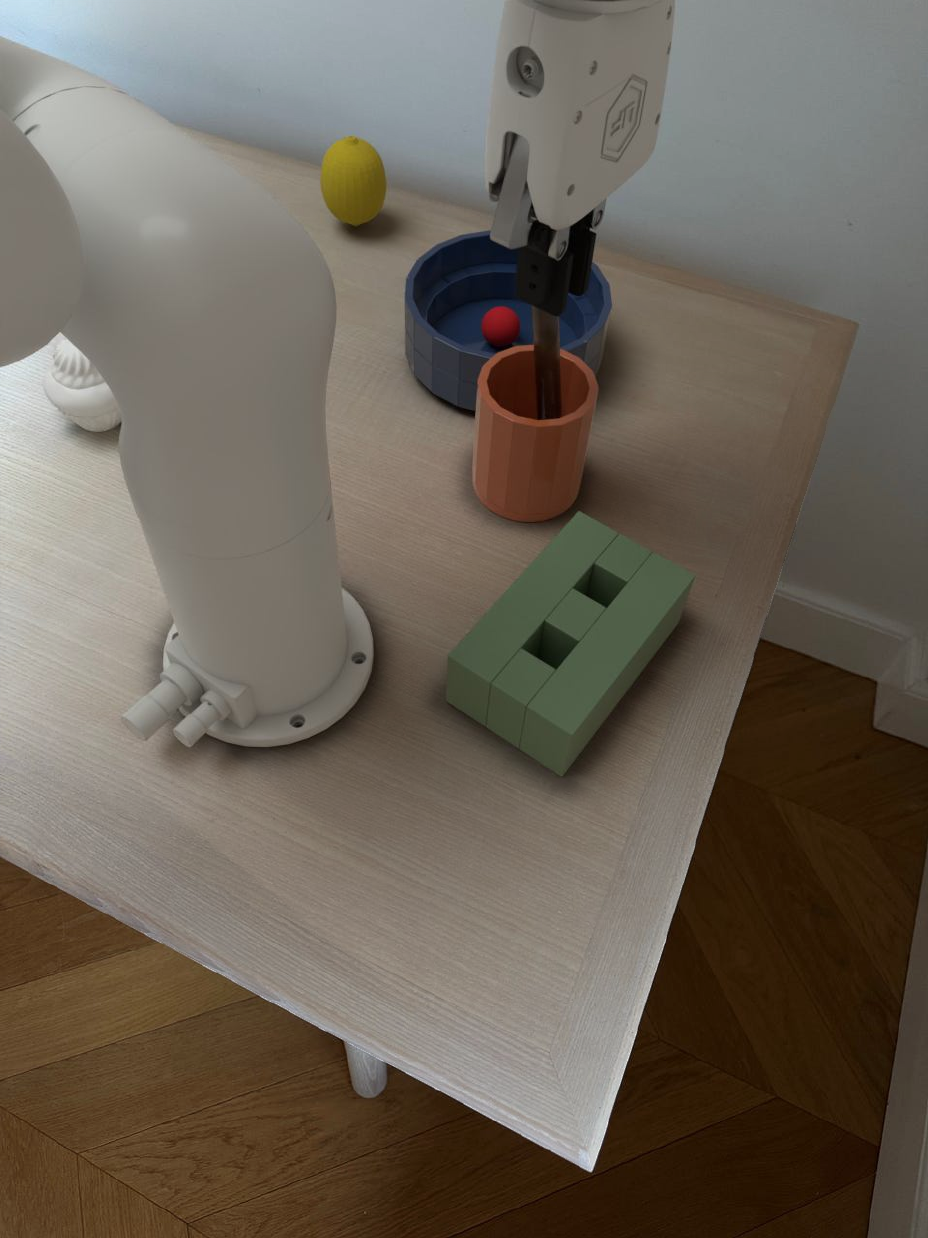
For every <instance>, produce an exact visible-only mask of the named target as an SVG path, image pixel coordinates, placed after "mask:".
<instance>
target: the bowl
mask: <svg viewBox="0 0 928 1238" xmlns="http://www.w3.org/2000/svg"><path fill="white" fill-rule="evenodd" d="M490 232H491V229H488V230H483V231H476V232H470V233H463V234H460V235H457V236H454V237H452V238H450V239H447V240H444V241H442V242H439V243H436V244H435V245H434V246H432V247H431V248H430V249H429V250H427V251H426V252H425V253H423V254H422V255H420V256H419V257H418V258H417V259H416V261H415V262H414V264H413V266H412V267H411V269H410V271H409V272H408V274H407V275H406V277H405V287H404V343H405V345H404V347H405V348H404V349H405V350H404V352H405V356H406V359H407V361H408V364H409V366H410V368H411V371H412V373H413V375H414V376H415V377H416V378H417V379H418V380H419V381H420V383H422V384H423V385H424V386H425V387H426V388H427V389H428V390H429V391H430V392H431V393H432V394H434V395H436V396H437V397H439V398H440V399H443V400H445V401H446V402H449V403H450V404H452V405H454V406H456V407H459V408H462V409H466V410H469V411H474V412H476V397H477V381H478V378H479V375H480V372H481V369H482V366H483V365H484V364H485V363H486V362H487V361H488V360H490V359H491V358H492V357H493V356H494V355H495V354H497V353H498V352H501V351H504V350H506V349H509V348H512V347H514V346H523V345H533V327H532V310H531V305H530V304H528V303H526V302H524V301H522V300H520V299H519V298H517V296H516V295H515V282H516V271H517V260H518V249H519V248H516V249H509V248H507V247H505V246H502V245H500V244H498V243H496V242H494V241H492V240H491V239H490ZM500 306H503V307H507V308H510V309H511V310H513V311H514V312H515V313H516V315H517V316H518V318H519V321H520V332H519V335H518V337H517V339H516V340H515V341H514V342H513V343H512V344H510V345H508V346H505V347H497V346H493V345H491V344H490V343H489V342H487V341H486V339H485V338H484V336H483V334H482V329H481V325H482V320H483V318H484V316H485V314H486V313H487V312H488V311H489V310H491V309H492V308H495V307H500ZM612 309H613V299H612V292H611V285H610V283H609V281H608V279H607V277H605V275H604V273H603V271H602V270H601V269H600V267H599V265H598V264H596V263H595V262H593V261H592V266H591V272H590V279H589V285H588V290H587V291H586V292H585V293H584V294H583V295H582V296H575V295H573V294H571V293H568V297H567V304H566V310H565V311H564V312H563V313H562V314H561V315H560V316H559V336H560V349H563V350H565V351H567V352H569V353H571V354H573V355H575V356H577V357H579V358H580V359H581V360H582V361H583V362H584V363H585V364H586V365H587V366H588V367H589V368H590V369H591V370H592V371H593V372H594V375H595V378H596V377H597V375H598V372H599V370H600V367H601V365H602V362H603V358H604V353H605V352H604V351H605V346H606V341H607V335H608V331H609V325H610V320H611V315H612Z"/></svg>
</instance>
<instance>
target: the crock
mask: <svg viewBox="0 0 928 1238" xmlns="http://www.w3.org/2000/svg"><path fill="white" fill-rule="evenodd" d="M560 367H561V397H562V417H561V418H559V419H547V420H538V417H537V399H536V381H535V363H534V345H523V346H514V347H512V348H509V349H506V350H504V351H501V352H498V353H497V354H495V355H494V356H493V357H492V358H491V359H490V360H488V361H487V362H486V363H485V364H484V365H483V366H482V369H481V372H480V375H479V378H478V381H477V397H476V411H475V416H474V431H473V432H474V433H473V447H472V449H473V450H472V464H471V472H472V481H471V482H472V487H473V490H474V493H475V495H476V496H477V499H478V500H479V501H480V502H481V503H482V504H483V506H484V507H486V508H487V509H488V510H490V511H491V512H493V513H494V514H496V515H498V516H500V517H502V518H505V519H507V520H510V521H511V520H512V521H516V522H521V523H522V522H523V523H538V522H544V521H547V520H551V519H554V518H556V517H558V516H560V515H562V514H564V513H565V512H567V510H568V509H569V508H571V507H572V506H573V504H574V503H575V501H576V499H577V498H578V495H579V492H580V487H581V482H582V478H583V473H584V467H585V463H586V458H587V454H588V453H587V452H588V448H589V442H590V437H591V433H592V427H593V421H594V416H595V410H596V405H597V399H598V395H599V384H598V381H597V379H596V378H595V375H594V372H593V371H592V370H591V369H590V368H589V367H588V366H587V365H586V364H585V363H584V362H583V361H582V360H581V359H580V358H579V357H577V356H575V355H573V354H571V353H569V352H567V351H565V350H563V349H560Z"/></svg>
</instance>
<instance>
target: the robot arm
mask: <svg viewBox="0 0 928 1238" xmlns="http://www.w3.org/2000/svg"><path fill="white" fill-rule="evenodd" d="M502 9H503V10H502V14H501V18H500V24H499V30H498V36H497V42H496V48H495V55H494V60H493V68H492V76H491V84H490V91H489V100H488V109H487V110H488V111H487V112H488V113H487V118H486V119H487V121H486V133H485V147H484V183H485V191H486V194H487V197H488V199H489V200H490V201H491V202H493V203H497V205H496V208H495V213H494V215H493V216H494V217H493V221H492V225H491V227H490V230H491V232H490V239H491V240H492V241H494V242H496V243H498V244H500V245H502V246H505V247H507V248H509V249H516V248H519V249H518V260H517V271H516V282H515V295H516V296H517V298H519V299H520V300H522V301H524V302H526V303H528V304H530V305H533V306H535V307H537V308H539V309H541V310H543V311H545V312H547V313H549V314H551V315H553V316H556V317H558V316H560V315H561V314H562V313H563V312H564V311H565V310H566V304H567V297H568V293H571V294H573V295H575V296H582V295H583V294H584V293H585V292H586V291H587V290H588V285H589V279H590V272H591V266H592V262H593V261H594V260H593V259H594V252H595V246H596V241H597V232H594V231H592V230H597V229H598V228H599V226H600V225H601V223H602V221H603V219H604V216H605V210H606V203H607V199H608V198H609V197H611V195H612V194H613V193H614V192H616V191H617V190H618V189H619V188H620V187H621V186H623V185H624V184H625V183H626V182H627V181H628V180H629V179H631V178H632V177H633V176H634V175H635V174H636V173H637V172H639V171H640V170H641V169H642V168H643V167H644V166H645V164H647V162H648V161H649V159H650V158H651V156H652V154H654V153H653V152H654V150H655V148H656V144H657V141H658V135H659V129H660V123H661V117H662V111H663V106H664V99H665V92H666V91H665V90H666V85H667V79H668V71H669V63H670V57H671V49H672V42H673V33H674V22H675V12H676V0H504V5H503V8H502ZM535 213H536V216H537V218H535ZM591 229H592V230H591ZM337 307H338V305H337V296H336V288H335V284H334V280H333V276H332V273H331V270H330V268H329V266H328V263H327V261H326V259H325V257H324V255H323V254H322V252H321V250H320V248H319V247H318V245H317V244H316V242H315V240H314V239H313V237H312V236H311V235H310V234H309V232H308V231H307V230H306V228H305V227H304V226H303V225H302V224H301V222H299V220H298V219H297V218H296V217H295V216H294V215H293V214H292V212H291V211H290V210H288V208H286V207H285V206H284V205H283V204H282V203H281V202H280V201H279V200H278V199H277V198H276V197H275V196H273V195H272V194H271V193H270V192H269V191H267V190H266V189H265V188H263V187H262V186H261V185H260V184H258V183H257V182H256V181H255V180H253V179H252V178H250V177H249V176H248V175H247V174H246V173H244V172H242V171H241V170H239V168H237V167H236V166H234V165H233V164H232V163H230V162H229V161H227V160H226V159H225V158H223V157H222V156H220V155H219V154H217V153H216V152H215V151H213V150H212V149H211V148H209V147H208V146H206V145H205V144H203V143H201V142H200V141H199V140H197V139H195V138H193V137H192V136H190V135H188V134H187V133H185V132H184V131H183V130H182V129H180V128H178V127H177V126H175V125H174V124H173V123H171V122H170V121H168V120H167V119H166V118H165V117H163V116H162V115H160V114H159V113H158V112H156V111H155V110H153V109H152V108H150V106H148V105H146V104H145V103H143V102H142V101H141V100H139V99H138V98H137V97H135V96H133V95H132V94H130V93H129V92H127V91H126V90H124V89H122V88H121V87H119V86H117V85H116V84H114V83H113V82H111V81H109V80H107V79H106V78H104V77H102V76H99V75H97V74H95V73H93V72H91V71H88V70H86V69H84V68H82V67H79V66H76V65H74V64H72V63H70V62H67V61H65V60H62V59H59V58H57V57H54V56H52V55H49V54H47V53H45V52H42V51H39V50H37V49H35V48H31V47H30V46H27V45H25V44H21V43H19V42H17V41H14V40H12V39H9V38H6V37H3V36H1V35H0V368H3V367H6V366H11V365H12V364H15V363H17V362H20V361H22V360H24V359H26V358H28V357H30V356H32V355H34V354H35V353H37V352H38V351H40V350H41V349H43V348H45V347H46V346H48V345H49V344H50V343H51V342H52V341H53V339H55V337H57V336H58V335H59V334H61V335H63V337H65V339H66V338H67V339H68V340H69V341H70V342H71V343H72V344H73V345H74V346H75V347H76V348H77V349H78V350H79V351H81V352H82V353H83V354H84V355H85V356H86V357H87V358H88V360H89V361H90V362H91V363H92V364H93V366H94V367H95V368H96V369H97V371H98V372H99V373H100V375H101V376H102V377H103V379H104V380H105V382H106V383H107V385H108V387H109V388H110V390H111V391H112V393H113V395H114V397H115V399H116V401H117V404H118V407H119V410H120V414H121V419H122V421H121V425H120V430H119V435H118V456H119V463H120V467H121V470H122V474H123V478H124V481H125V485H126V488H127V491H128V495H129V496H130V500H131V503H132V505H133V506H132V507H133V510H134V511H135V515H136V516H137V519H138V521H139V523H140V527H141V529H142V533H143V535H144V538H145V541H146V545H147V546H148V550H149V552H150V553H149V554H150V555H151V558H152V561H153V564H154V567H155V570H156V573H157V576H158V579H159V581H160V584H161V587H162V591H163V593H164V596H165V599H166V601H167V606H168V608H169V611H170V614H171V617H172V620H173V623H172V625H171V627H170V629H169V631H168V632H167V637H166V641H165V643H164V648H163V655H162V656H163V657H162V669H163V671H162V672H161V673H159V680H160V683H158V684H157V685H156V686H155V687H154V688H153V689H152V690H151V691H149V692H148V693H147V694H144V695H143V696H142V697H141V698H140V699H139V700H138V701H137V702H136V703H134V704H133V705H132V706H131V707H130V708H129V709H128V710H126V711H125V713H123V714H122V715H121V716H120V720H121V722H122V723H123V725H124V726H125V727H126V729H127V730H129V731H130V733H131V734H132V735H134V736H135V737H136V738H137V739H139V740H141V741H142V742H147V741H148V740H149V739H150V738H151V737H152V736H154V734H155V733H157V731H159V730H160V729H161V728H162V727H163V726H164V725H165V724H166V723H167V722H168V721H170V717H172V716H173V714H174V713H175V712H177V710H179V712H180V713H181V714H182V715H183V716H184V718H183V719H182V720H180V722H179V723H178V724H177V725H176V726H175V727H173V728H172V733H173V735H174V737H176V738H177V740H178V741H179V742H180V743H182V744H183V745H184V746H185V747H188V748H192V747H193V746H194V745H195V744H196V742H198V741H199V739H201V738H202V737H203V736H204V735H205V734H206V735H208V736H210V737H212V738H215V739H217V740H220V741H222V742H224V743H227V744H228V743H229V744H233V745H237V746H242V747H248V748H249V747H250V748H251V747H252V748H253V747H254V748H271V747H278V746H286V745H291V744H294V743H297V742H300V741H304V740H307V739H310V738H311V737H313V736H315V735H317V734H319V733H321V732H323V731H326V730H327V729H329V728H330V727H331V726H332V725H334V724H335V723H337V722H338V721H340V720H341V719H342V718H343V717H345V715H346V714H347V713H348V712H350V710H351V709H352V708H353V707H354V706H355V705H356V704H357V702H358V701H359V699H360V697H361V696H362V694H363V692H364V691H365V690H366V687H367V685H368V682H369V679H370V677H371V674H372V671H373V665H374V656H375V653H374V637H373V634H372V629H371V623H370V622H369V620H368V619H369V618H368V617H367V615H366V613H365V610H364V609H363V608H362V607H361V605H360V604H359V602H358V601H357V600H356V598H355V597H354V596H353V595H352V594H351V593H350V592H348V591H347V590H346V589H345V588H344V587H343V586H342V577H341V569H340V559H339V558H340V557H339V548H338V539H337V529H336V521H335V520H336V519H335V509H334V501H333V491H332V481H331V471H330V460H329V450H328V439H327V421H326V419H327V418H326V406H327V404H326V403H327V387H328V379H329V378H328V377H329V369H330V365H331V358H332V353H333V346H334V342H335V335H336V325H337ZM298 726H299V727H298Z"/></svg>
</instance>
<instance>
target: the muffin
mask: <svg viewBox="0 0 928 1238" xmlns="http://www.w3.org/2000/svg"><path fill="white" fill-rule="evenodd" d="M53 350H54V352H53V353H52V358H53V359H52V361H51V363H50V364H49V365H48V367H47V369H46V371H45V372H44V375H43V379H42V388H43V393H44V395H45V396H46V398H47V399H48V401H49V402H50V404H51V405H53V406H54V407H55V408H56V409H57V411H58V412H60V413H61V414H62V415H63V416H65V417H66V418H68V419H69V420H71V421H72V422H74V423H75V424H77V425H78V426H79V427H81V428H82V429H84V430H86V431H90V432H92V433H93V432H95V433H101V432H107V431H111V430H112V429H115V428H116V427H118V426H119V424H122V419H121V414H120V410H119V407H118V404H117V401H116V399H115V397H114V395H113V393H112V391H111V390H110V388H109V387H108V385H107V383H106V382H105V380H104V379H103V377H102V376H101V375H100V373H99V372H98V371H97V369H96V368H95V367H94V366H93V364H92V363H91V362H90V361H89V360H88V358H87V357H86V356H85V355H84V354H83V353H82V352H81V351H79V350H78V349H77V348H76V347H75V346H74V345H73V344H72V343H71V342H70V341H69V340H68V339H67V338H66V337H65V339H60V340H59V343H58V344H56V345H55V346H54V349H53Z"/></svg>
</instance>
